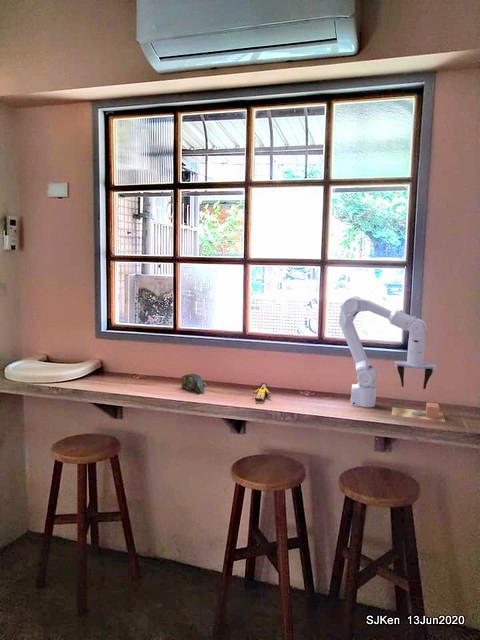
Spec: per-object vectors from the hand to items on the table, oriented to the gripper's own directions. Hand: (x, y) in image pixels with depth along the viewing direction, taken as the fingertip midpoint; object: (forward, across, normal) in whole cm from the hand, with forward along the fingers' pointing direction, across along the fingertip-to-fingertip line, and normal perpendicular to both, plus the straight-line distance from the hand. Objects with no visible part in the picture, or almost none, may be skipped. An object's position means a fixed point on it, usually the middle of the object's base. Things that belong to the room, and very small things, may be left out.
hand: (413, 387), depth 176 cm
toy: (+11, -58, -3) cm, 59 cm away
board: (+10, +2, -3) cm, 11 cm away
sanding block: (+9, +7, -3) cm, 12 cm away
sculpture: (+11, -89, -3) cm, 89 cm away
